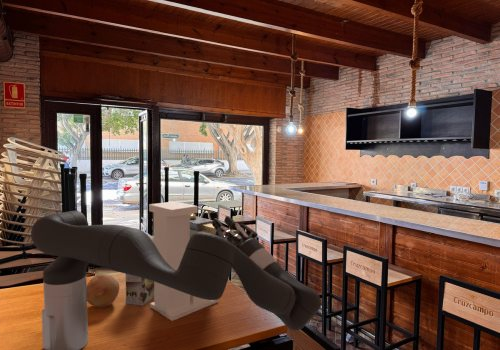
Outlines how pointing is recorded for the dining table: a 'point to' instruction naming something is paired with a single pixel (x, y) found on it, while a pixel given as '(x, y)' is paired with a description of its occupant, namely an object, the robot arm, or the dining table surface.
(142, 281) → the coffee box
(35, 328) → the dining table surface
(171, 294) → the stepped stand
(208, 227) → the wooden handled tool
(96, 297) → the onion
